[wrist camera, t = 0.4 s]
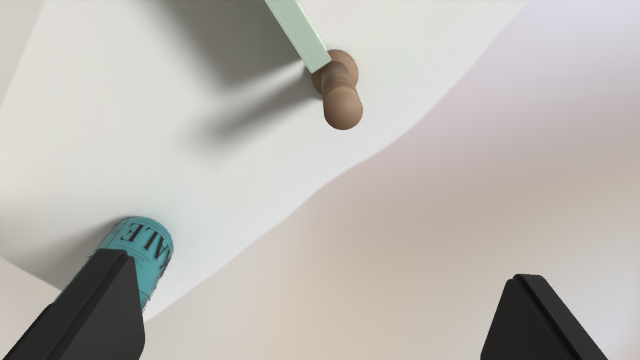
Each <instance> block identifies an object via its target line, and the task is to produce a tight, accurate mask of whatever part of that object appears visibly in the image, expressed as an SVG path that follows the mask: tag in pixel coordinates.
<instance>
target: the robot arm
mask: <svg viewBox="0 0 640 360" xmlns="http://www.w3.org/2000/svg"><path fill="white" fill-rule="evenodd" d="M144 344H145V332H144V324H143V316H142V309H141V302H140V294H139V287H138V279H137V272H136V265H135V259H134V257H133V256H128V253H127V251H126V250H124V249H108V248H100V249H98V250H97V251H96V252H95V253H94V254H93V256H92V257H91V258H90V259H89V261H88V262H87V263H86V264H85V265H84V267H83V268H82V269H81V270H80V272H79V273H78V274H77V275H76V276H75V278H74V279H73V280H72V281H71V283H70V284H69V285H68V286H67V288H66V289H65V290H64V291H63V292H62V294H61V295H60V296H59V297H58V299H57V300H56V301H55V302H53V303H51V304H49V305H48V306H47V307H46V308H45V309H44V310H43V311H42V313H41V314H40V315H39V316H38V317H37V319H36V320H35V321H34V323H32V325H31V326H30V327H29V328H28V330H27V331H26V332H25V333H24V334H23V335H22V337H21V338H20V339H19V340H18V341H17V343H16V344H15V345H14V346H13V348H12V349H11V350H10V351H9V352H8V354H7V355H6V356H5V357H4V358H3V360H139V358H140V356H141V353H142V351H143V348H144ZM480 357H481V358H480V360H608V359H607V358H606V357H605V355H604V354H603V353H602V352H601V350H600V349H599V348H598V346H597V345H596V344H595V342H594V341H593V340H592V339H591V337H590V336H589V335H588V333H587V332H586V331H585V330H584V328H583V327H582V326H581V324H580V323H579V322H578V321H577V319H576V318H575V317H574V316H573V314H572V313H571V312H570V310H569V309H568V308H567V307H566V305H565V304H564V303H563V301H562V300H561V299H560V298H559V296H558V295H557V294H556V293H555V291H554V290H553V289H552V287H551V286H550V285H549V284H548V282H547V281H546V280H545V279H544V278H543V277H542V276H540V275H530V274H516V275H515V276H514V277H513V279H509V280H508V281H507V282H506V285H505V287H504V290H503V293H502V296H501V298H500V301H499V304H498V307H497V310H496V313H495V315H494V318H493V321H492V324H491V327H490V329H489V332H488V335H487V338H486V341H485V344H484V346H483V349H482V352H481V356H480Z"/></svg>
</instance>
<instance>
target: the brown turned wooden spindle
mask: <svg viewBox="0 0 640 360" xmlns="http://www.w3.org/2000/svg"><path fill="white" fill-rule="evenodd" d="M327 53H328V54H329V56H330V57H331V61H330V62H328V63H327V64H325V65H324V66H322V67H321V68H319V69H318V70H316V71H315V72H313V73H312V81H313V84H314V87H315V88H316V90H317V91H318V92H319V93H320V94H321V95H323V108H324V116H325V119H326V121H327V122H328V124H329V125H330V126H332V127H333V128H335V129H339V130H347V129H350V128H352V127H354V126H355V125H357V124H358V122H359V121H360V120H361V117H362V114H363V107H362V103H361V101H360V98H359V96H358V93H357V91H356V88H355V86H356V84H357V81H358V68H357V65H356V63H355V61H354V60H353V58H352V57H351V56H350V55H349V54H347V53H346V52H344V51H341V50H329V51H327Z"/></svg>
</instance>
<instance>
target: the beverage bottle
mask: <svg viewBox="0 0 640 360" xmlns="http://www.w3.org/2000/svg"><path fill="white" fill-rule="evenodd" d="M110 230H111V229H110ZM104 238H105V237H104ZM102 241H103V240H102ZM95 248H96V247H95ZM100 248H108V249H124V250H126V251H127V253H128V256H133V257H134V259H135V265H136V272H137V279H138V287H139V294H140V302H141V309H142V310H143V308H144V306H146V303H147V301H148V299H149V301H150V299H151V297H150V295H151V293H153V292H152V291H153V289H154V290H155V288H156V284H157V282H158V280H159V278H160V277H161V276H163V275H162V274H164V271H165V268H166V267H167V266H168V263H170V262H169V261H171V260H170V258H172V257H171V255H172V251H173V252H174V248H173V241H172V238H171V235H170V234H169V232H168V231H167V229H166V228H165V227H164V226H162V225H161V224H160V223H158V222H157V221H155V220H152V219H150V218H146V217H131V218H128V219H125V220H123V221H121V222H120V223H118V224H116V226H115V227H114V228H113V230H111V232H109V234H107V237H106V238H105V239H104V241H103V242H102V243H101V244H100V245H99V247H98V248H97V249H96V250H95V252H96V251H97V250H98V249H100ZM95 252H94V253H95ZM94 253H93V254H94ZM90 254H91V253H90ZM93 254H92V255H91V256H89V257H90V258H91V257H92V256H93ZM87 258H88V257H87ZM90 258H89V259H90ZM89 259H88V260H87V262H88V261H89ZM87 262H86V263H87ZM86 263H85V264H86ZM83 267H84V266H83ZM83 267H82V268H83ZM82 268H81V269H82ZM81 269H80V270H81ZM79 272H80V271H79ZM79 272H78V273H79ZM78 273H77V274H78ZM77 274H76V275H77ZM76 275H75V276H76ZM74 278H75V277H74ZM74 278H73V279H74ZM73 279H72V280H73ZM160 279H161V278H160ZM72 280H71V281H72ZM71 281H70V283H71ZM70 283H69V284H70ZM158 283H159V282H158ZM69 284H68V285H69ZM68 285H67V286H68ZM67 286H66V287H65V289H66V288H67ZM154 287H155V288H154ZM65 289H64V290H65ZM64 290H63V291H64ZM63 291H62V292H63ZM62 292H61V293H60V295H61V294H62ZM60 295H59V296H60ZM59 296H58V297H59ZM58 297H57V298H56V299H55V301H56V300H57V299H58ZM149 297H150V298H149ZM55 301H54V302H55ZM145 308H146V307H145ZM142 312H144V311H142Z"/></svg>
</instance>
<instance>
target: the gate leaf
mask: <svg viewBox="0 0 640 360" xmlns="http://www.w3.org/2000/svg"><path fill="white" fill-rule="evenodd" d="M264 1H265V2H266V4H267V5H268V7H269V8H270V10H271V12H272V13H273V15H274V16H275V18H276V19H277V21H278V22H279V24H280V26H281V27H282V29H283V30H284V32H285V33H286V35H287V36H288V38H289V40H290V41H291V43H292V44H293V46H294V47H295V49H296V50H297V52H298V54H299V55H300V57H301V58H302V60H303V61H304V63H305V64H306V66H307V68H308V69H309V71H310V72H311V74H312V73H313V72H315V71H316V70H318V69H319V68H321V67H322V66H324V65H325V64H327V63H328V62H330V61H331V57H330V56H329V54H328V53H327V50H326V46H325V44H324V42H323V41H322V39H321V37H320V36H319V34H318V32H317V31H316V29H315V28H314V26H313V24H312V23H311V21H310V19H309V18H308V16H307V14H306V13H305V11H304V10H303V8H302V6H301V5H300V3H299V1H298V0H264Z"/></svg>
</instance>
